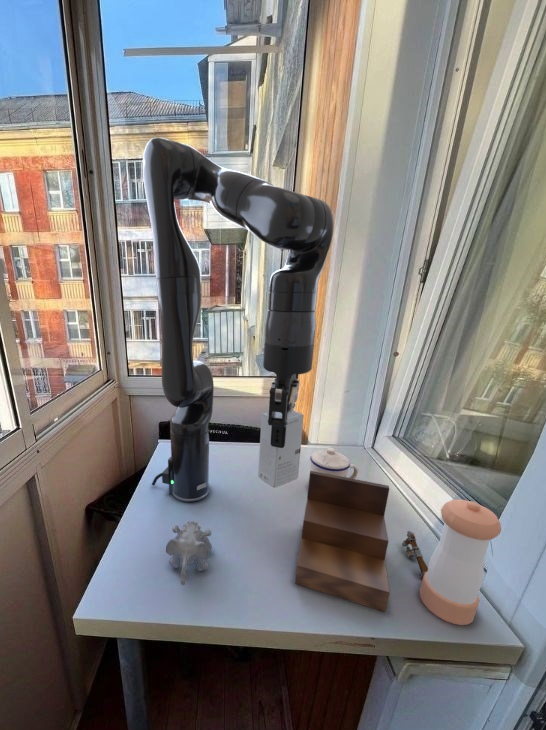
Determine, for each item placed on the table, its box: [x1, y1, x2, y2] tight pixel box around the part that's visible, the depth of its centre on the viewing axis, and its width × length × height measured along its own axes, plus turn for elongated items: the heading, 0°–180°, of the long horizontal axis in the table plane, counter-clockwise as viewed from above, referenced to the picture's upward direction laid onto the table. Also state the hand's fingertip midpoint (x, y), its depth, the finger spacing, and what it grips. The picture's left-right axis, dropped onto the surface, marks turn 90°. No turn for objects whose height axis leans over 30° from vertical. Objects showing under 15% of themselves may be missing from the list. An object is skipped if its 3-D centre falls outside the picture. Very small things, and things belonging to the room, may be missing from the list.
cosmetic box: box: [257, 409, 305, 489], centre depth 57 cm, size 6×4×12 cm
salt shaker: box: [419, 499, 502, 626], centre depth 51 cm, size 7×7×19 cm
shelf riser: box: [294, 470, 391, 612], centre depth 60 cm, size 14×15×14 cm
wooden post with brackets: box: [401, 530, 429, 579], centre depth 62 cm, size 2×8×4 cm, turn 177°
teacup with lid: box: [307, 447, 359, 486], centre depth 82 cm, size 12×9×12 cm
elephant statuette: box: [165, 520, 213, 586], centre depth 60 cm, size 9×12×8 cm
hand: (281, 436), depth 57 cm, fingers closed on cosmetic box, 7 cm apart
